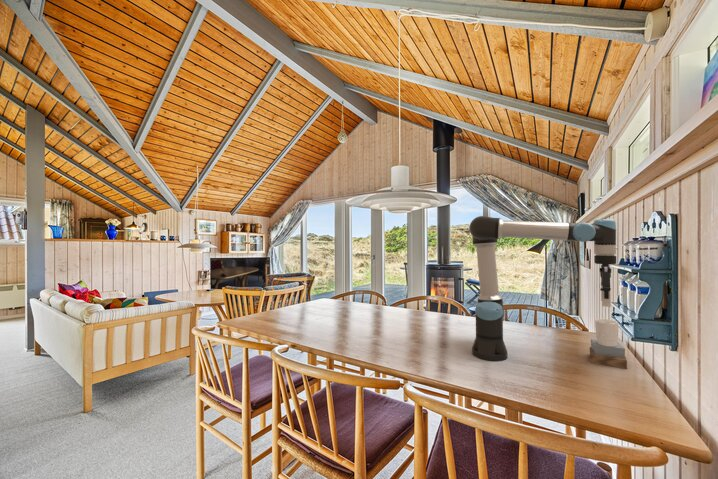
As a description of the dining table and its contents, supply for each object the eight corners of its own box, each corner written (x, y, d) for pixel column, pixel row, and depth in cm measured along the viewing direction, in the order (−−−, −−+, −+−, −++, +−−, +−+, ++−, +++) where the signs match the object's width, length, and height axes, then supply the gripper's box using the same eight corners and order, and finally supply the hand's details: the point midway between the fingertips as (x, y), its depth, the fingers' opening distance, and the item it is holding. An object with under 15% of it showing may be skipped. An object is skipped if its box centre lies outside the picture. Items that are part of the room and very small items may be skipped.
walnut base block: (590, 363, 134) (590, 354, 134) (589, 355, 144) (589, 346, 144) (626, 370, 127) (626, 360, 127) (623, 361, 137) (623, 351, 137)
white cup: (614, 342, 137) (614, 319, 137) (621, 348, 130) (620, 324, 130) (593, 340, 141) (592, 318, 141) (598, 346, 133) (597, 322, 133)
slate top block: (595, 354, 134) (594, 345, 134) (591, 347, 143) (590, 338, 143) (625, 358, 130) (624, 348, 130) (618, 350, 139) (618, 341, 139)
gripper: (618, 256, 124) (619, 310, 124) (614, 254, 144) (615, 300, 144) (594, 255, 128) (595, 307, 128) (594, 253, 148) (594, 298, 148)
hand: (605, 303), depth 136 cm, fingers open, 13 cm apart
